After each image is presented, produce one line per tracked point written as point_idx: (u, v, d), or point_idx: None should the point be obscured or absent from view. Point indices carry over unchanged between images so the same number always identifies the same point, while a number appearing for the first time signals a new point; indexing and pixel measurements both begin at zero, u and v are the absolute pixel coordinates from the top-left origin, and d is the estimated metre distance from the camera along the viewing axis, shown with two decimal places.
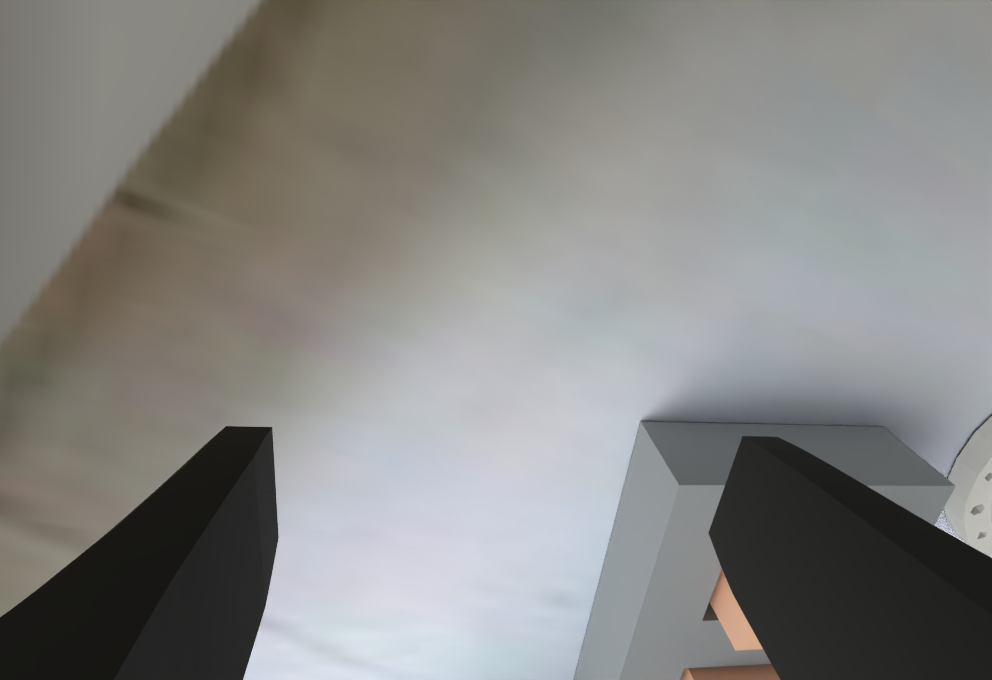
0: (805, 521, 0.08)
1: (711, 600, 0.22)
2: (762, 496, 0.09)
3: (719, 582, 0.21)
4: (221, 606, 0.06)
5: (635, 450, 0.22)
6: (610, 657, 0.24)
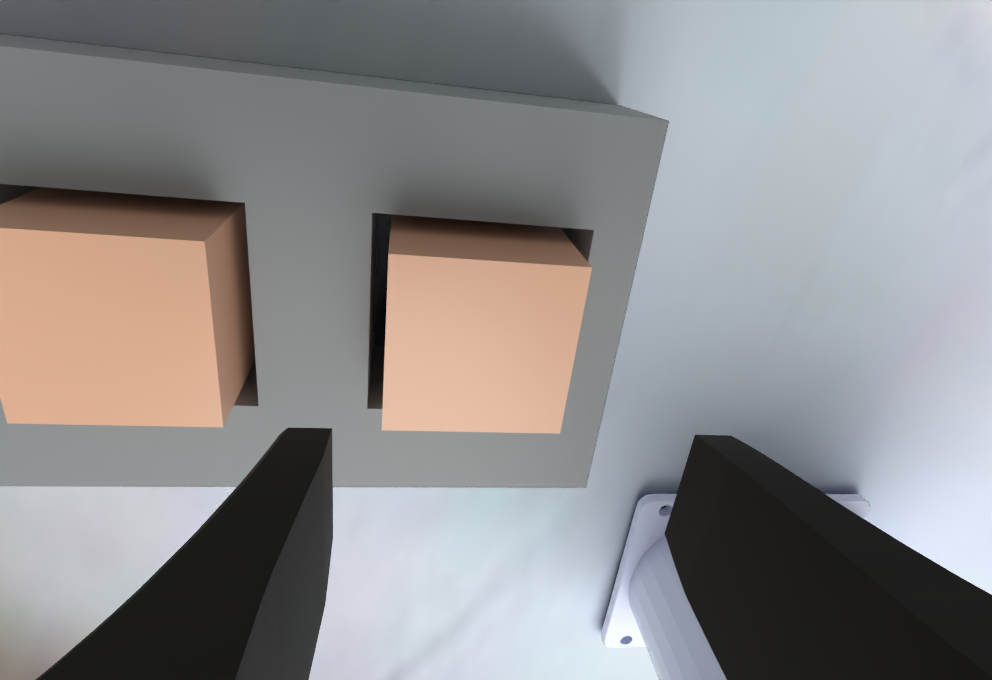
0: (751, 521, 0.08)
1: None
2: (712, 496, 0.09)
3: None
4: (298, 603, 0.07)
5: None
6: None
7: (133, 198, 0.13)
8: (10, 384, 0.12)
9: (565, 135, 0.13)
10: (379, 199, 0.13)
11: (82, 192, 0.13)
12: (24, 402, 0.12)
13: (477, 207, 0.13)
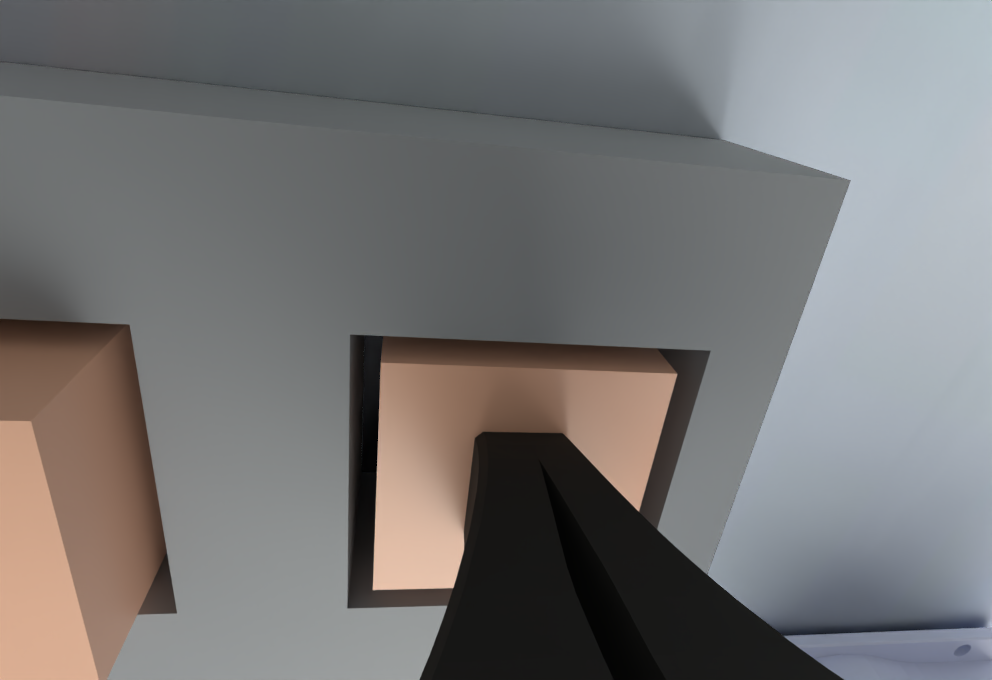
0: None
1: None
2: None
3: None
4: None
5: None
6: None
7: None
8: None
9: (677, 206, 0.08)
10: (362, 313, 0.08)
11: None
12: None
13: (525, 321, 0.08)
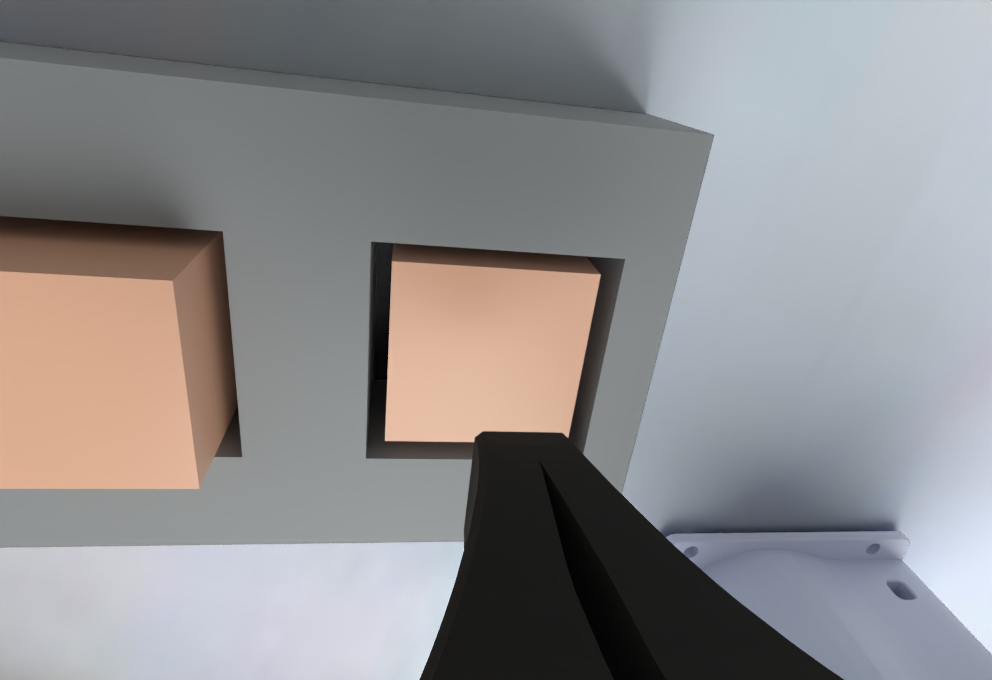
0: None
1: None
2: None
3: None
4: None
5: None
6: None
7: (96, 224, 0.12)
8: None
9: (594, 152, 0.11)
10: (379, 226, 0.11)
11: None
12: None
13: (492, 234, 0.11)
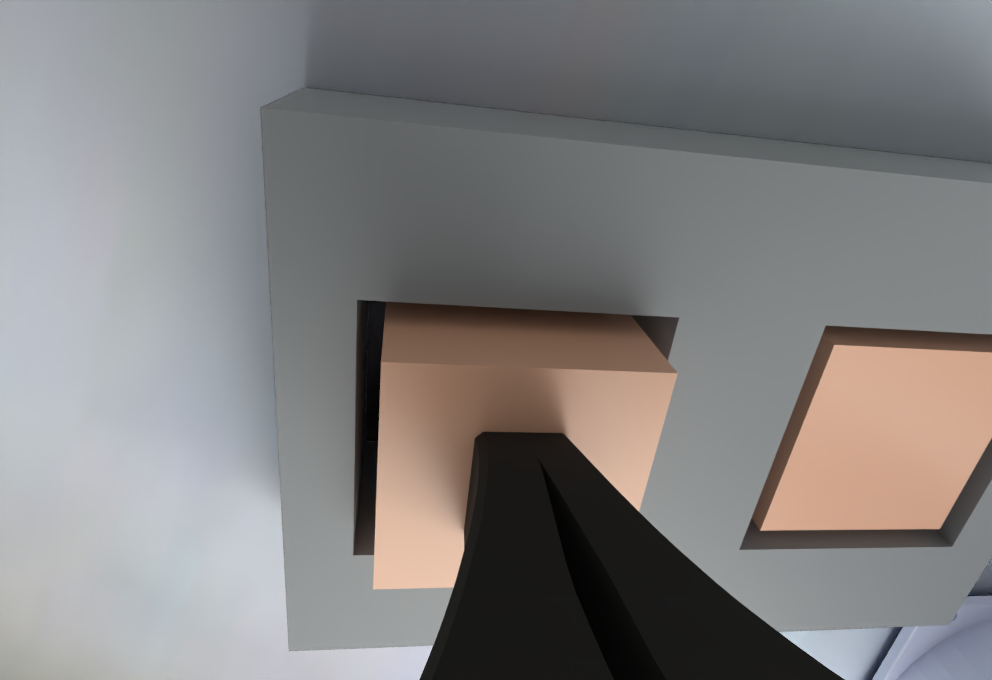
0: None
1: None
2: None
3: None
4: None
5: None
6: None
7: None
8: (391, 546, 0.09)
9: None
10: (840, 309, 0.10)
11: None
12: (400, 565, 0.10)
13: (950, 315, 0.10)
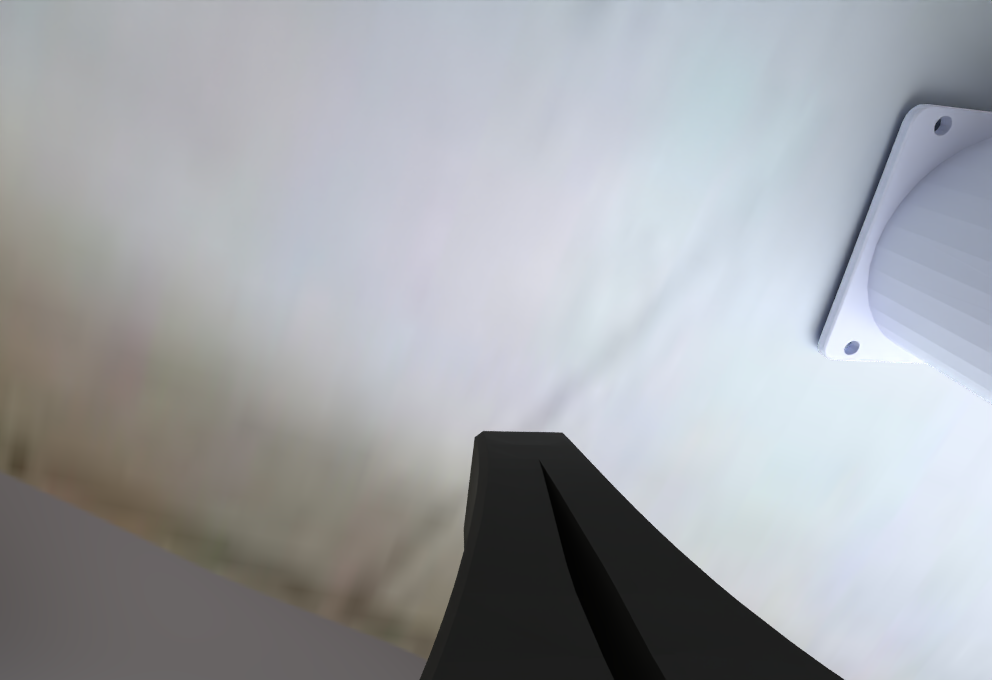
0: None
1: None
2: None
3: None
4: None
5: None
6: None
7: None
8: None
9: None
10: None
11: None
12: None
13: None
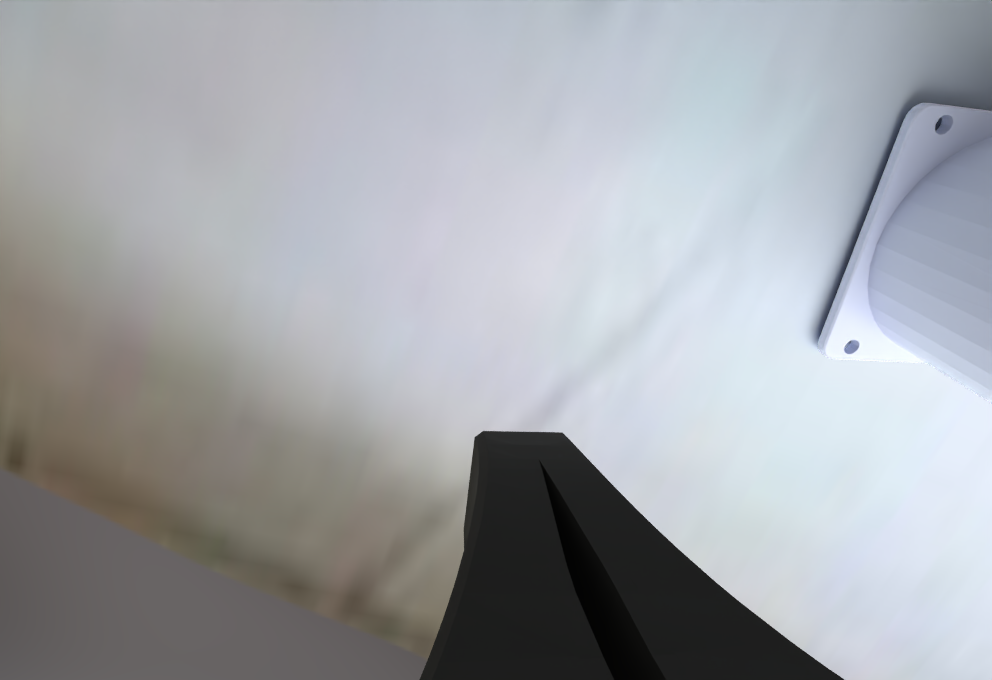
0: None
1: None
2: None
3: None
4: None
5: None
6: None
7: None
8: None
9: None
10: None
11: None
12: None
13: None
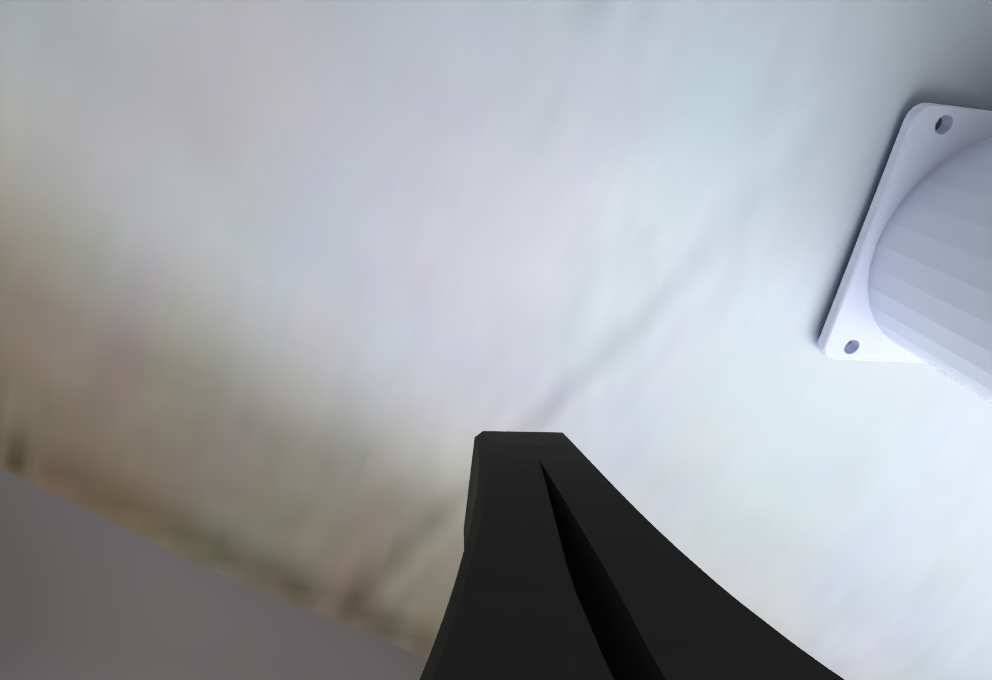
0: None
1: None
2: None
3: None
4: None
5: None
6: None
7: None
8: None
9: None
10: None
11: None
12: None
13: None
